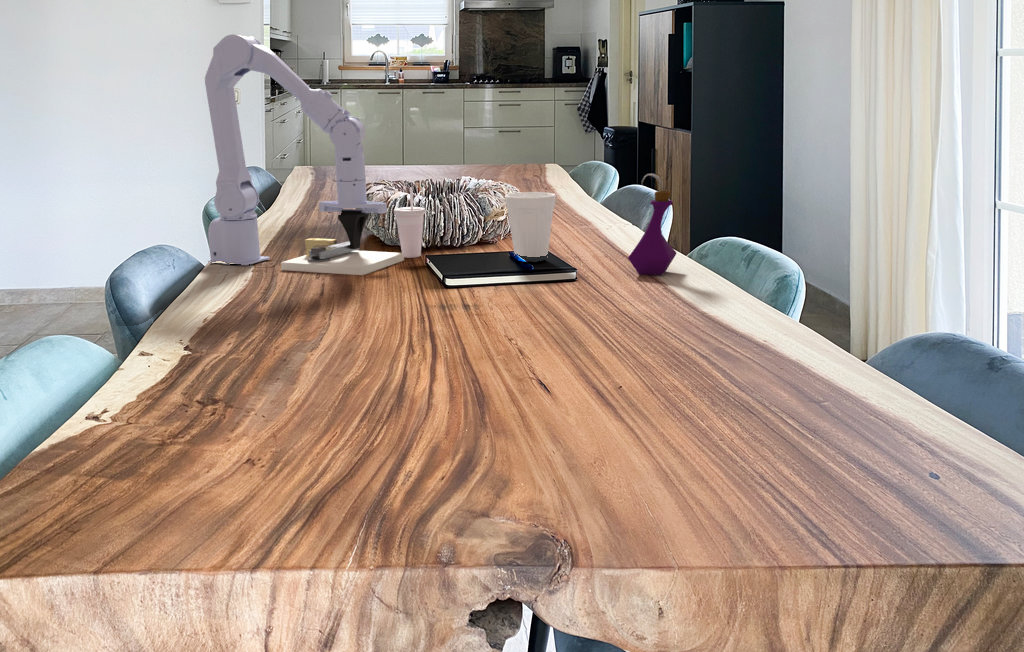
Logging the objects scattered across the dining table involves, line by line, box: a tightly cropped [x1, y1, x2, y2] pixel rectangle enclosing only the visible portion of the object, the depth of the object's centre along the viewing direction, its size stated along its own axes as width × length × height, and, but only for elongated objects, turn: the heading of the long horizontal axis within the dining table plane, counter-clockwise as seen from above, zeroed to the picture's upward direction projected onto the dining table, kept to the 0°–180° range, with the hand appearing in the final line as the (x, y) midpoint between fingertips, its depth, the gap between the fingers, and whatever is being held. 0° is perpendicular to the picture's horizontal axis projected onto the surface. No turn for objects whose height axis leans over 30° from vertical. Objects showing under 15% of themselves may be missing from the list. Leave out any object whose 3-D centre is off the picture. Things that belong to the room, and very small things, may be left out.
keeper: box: [304, 237, 338, 256], centre depth 199 cm, size 6×2×3 cm, turn 67°
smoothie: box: [393, 186, 426, 259], centre depth 205 cm, size 6×6×14 cm
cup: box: [504, 191, 557, 257], centre depth 196 cm, size 10×10×13 cm
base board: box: [280, 250, 405, 276], centre depth 198 cm, size 18×16×2 cm
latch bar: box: [309, 241, 360, 259], centre depth 199 cm, size 12×3×2 cm, turn 152°
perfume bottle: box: [627, 173, 677, 276], centre depth 182 cm, size 8×8×18 cm
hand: (355, 248), depth 202 cm, fingers closed, pressing on latch bar
